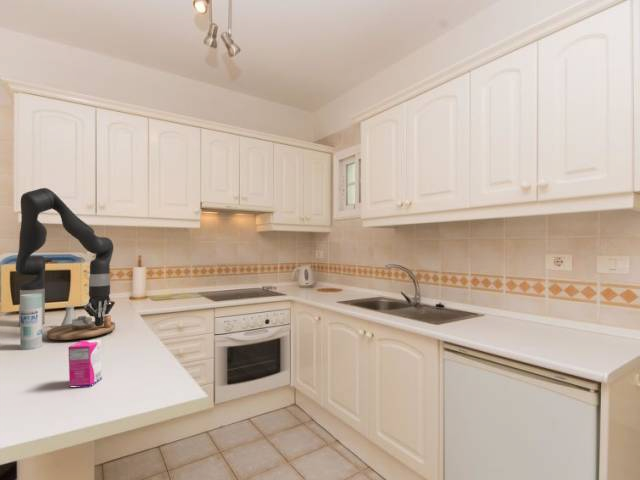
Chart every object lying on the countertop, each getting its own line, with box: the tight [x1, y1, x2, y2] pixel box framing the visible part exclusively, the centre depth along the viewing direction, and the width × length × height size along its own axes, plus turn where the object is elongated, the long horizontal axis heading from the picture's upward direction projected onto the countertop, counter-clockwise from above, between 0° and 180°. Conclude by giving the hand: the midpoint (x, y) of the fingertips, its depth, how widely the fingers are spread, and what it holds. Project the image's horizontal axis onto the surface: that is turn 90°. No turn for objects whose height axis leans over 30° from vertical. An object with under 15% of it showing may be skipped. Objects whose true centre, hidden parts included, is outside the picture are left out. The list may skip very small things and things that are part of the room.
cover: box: [72, 315, 93, 330], centre depth 147 cm, size 7×7×5 cm
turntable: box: [46, 314, 116, 341], centre depth 147 cm, size 24×24×7 cm
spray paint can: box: [19, 293, 43, 351], centre depth 130 cm, size 6×6×20 cm
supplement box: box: [68, 339, 103, 387], centre depth 96 cm, size 6×6×12 cm
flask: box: [60, 305, 77, 326], centre depth 160 cm, size 7×7×10 cm
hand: (99, 325), depth 143 cm, fingers closed
